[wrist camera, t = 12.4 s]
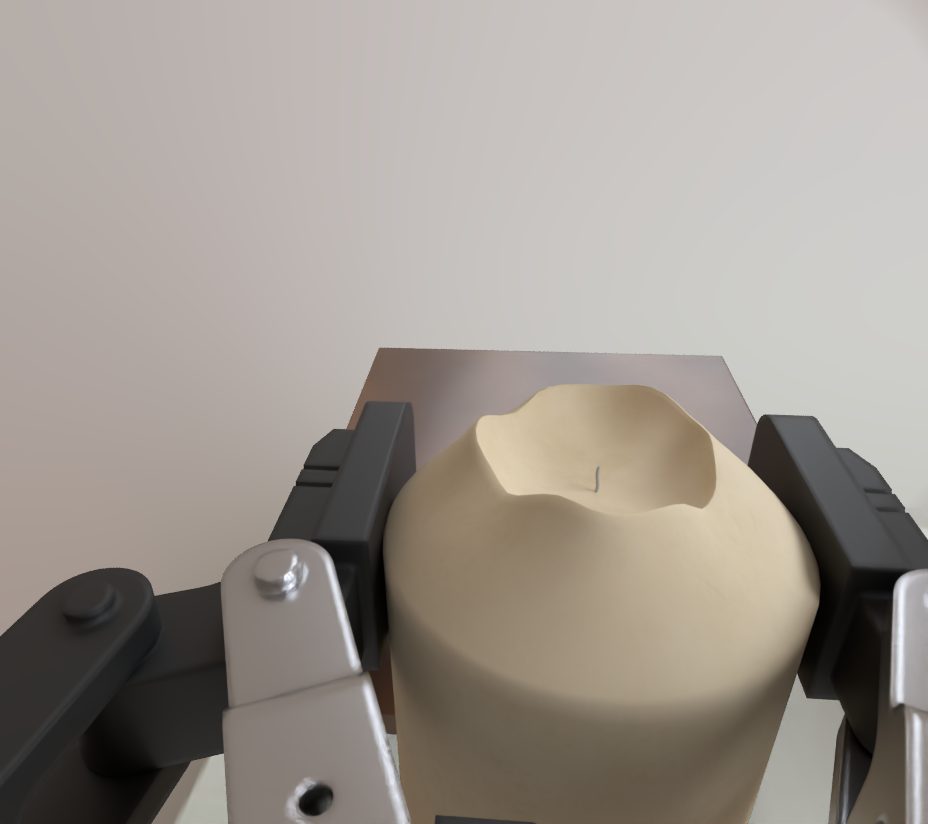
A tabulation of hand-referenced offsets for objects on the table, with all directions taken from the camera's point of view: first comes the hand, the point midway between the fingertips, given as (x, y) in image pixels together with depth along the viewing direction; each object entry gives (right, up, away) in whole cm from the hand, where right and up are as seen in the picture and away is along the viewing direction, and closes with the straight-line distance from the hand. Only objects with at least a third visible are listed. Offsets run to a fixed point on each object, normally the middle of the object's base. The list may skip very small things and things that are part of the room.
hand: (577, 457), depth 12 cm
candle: (0, -8, +2) cm, 9 cm away
